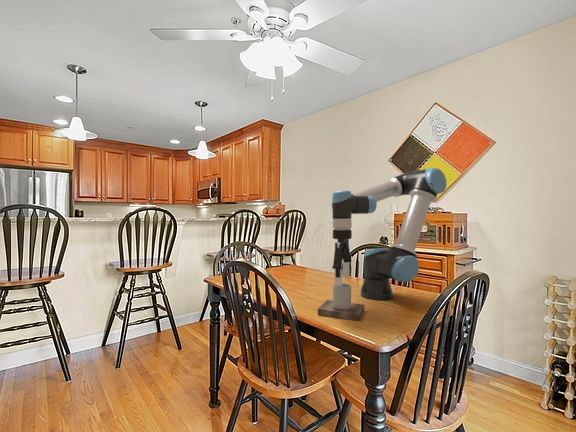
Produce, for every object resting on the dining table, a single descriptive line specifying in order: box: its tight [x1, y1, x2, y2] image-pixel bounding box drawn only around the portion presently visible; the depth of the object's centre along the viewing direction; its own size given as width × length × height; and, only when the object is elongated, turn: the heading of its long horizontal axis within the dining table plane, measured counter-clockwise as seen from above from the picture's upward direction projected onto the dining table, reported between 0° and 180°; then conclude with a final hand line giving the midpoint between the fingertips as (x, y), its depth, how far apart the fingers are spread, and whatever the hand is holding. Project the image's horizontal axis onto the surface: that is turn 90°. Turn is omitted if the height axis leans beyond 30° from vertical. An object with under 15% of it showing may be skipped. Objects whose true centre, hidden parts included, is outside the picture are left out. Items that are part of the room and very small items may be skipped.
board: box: [317, 299, 365, 322], centre depth 122 cm, size 16×13×2 cm
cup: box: [332, 282, 352, 310], centre depth 122 cm, size 7×10×9 cm
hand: (342, 281), depth 122 cm, fingers open, 13 cm apart
